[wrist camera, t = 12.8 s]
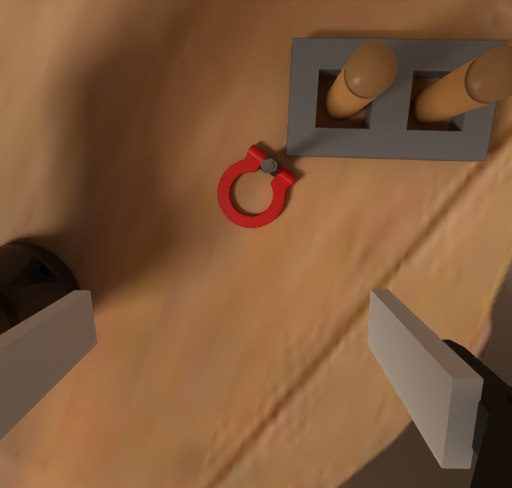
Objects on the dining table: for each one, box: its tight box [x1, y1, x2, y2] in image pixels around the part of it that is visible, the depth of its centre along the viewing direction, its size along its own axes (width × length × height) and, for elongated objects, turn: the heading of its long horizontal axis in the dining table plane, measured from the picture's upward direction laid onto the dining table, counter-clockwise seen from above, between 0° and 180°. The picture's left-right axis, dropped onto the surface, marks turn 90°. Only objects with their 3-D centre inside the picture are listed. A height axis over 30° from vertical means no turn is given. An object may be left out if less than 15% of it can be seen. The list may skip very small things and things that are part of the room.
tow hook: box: [218, 144, 297, 228], centre depth 34 cm, size 8×13×9 cm
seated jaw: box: [410, 46, 512, 125], centre depth 31 cm, size 4×4×12 cm
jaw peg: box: [324, 42, 397, 121], centre depth 32 cm, size 4×4×12 cm
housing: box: [286, 38, 507, 162], centre depth 36 cm, size 22×12×2 cm, turn 88°
